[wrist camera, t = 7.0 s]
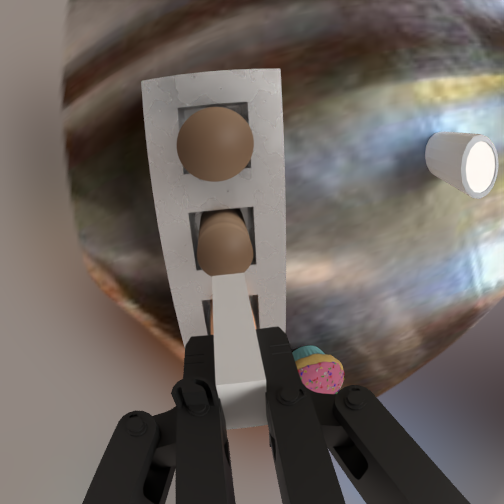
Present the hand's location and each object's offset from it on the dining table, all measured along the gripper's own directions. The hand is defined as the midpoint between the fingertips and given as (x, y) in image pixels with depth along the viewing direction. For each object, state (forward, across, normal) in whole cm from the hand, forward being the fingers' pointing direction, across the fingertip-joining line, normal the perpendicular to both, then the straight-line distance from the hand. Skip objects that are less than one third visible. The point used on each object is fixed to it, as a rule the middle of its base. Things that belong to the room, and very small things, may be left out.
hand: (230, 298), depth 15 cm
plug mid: (+14, 0, -1) cm, 14 cm away
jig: (+16, 0, -1) cm, 16 cm away
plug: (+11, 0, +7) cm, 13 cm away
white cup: (+16, +26, +5) cm, 31 cm away
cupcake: (+16, +9, -22) cm, 29 cm away
